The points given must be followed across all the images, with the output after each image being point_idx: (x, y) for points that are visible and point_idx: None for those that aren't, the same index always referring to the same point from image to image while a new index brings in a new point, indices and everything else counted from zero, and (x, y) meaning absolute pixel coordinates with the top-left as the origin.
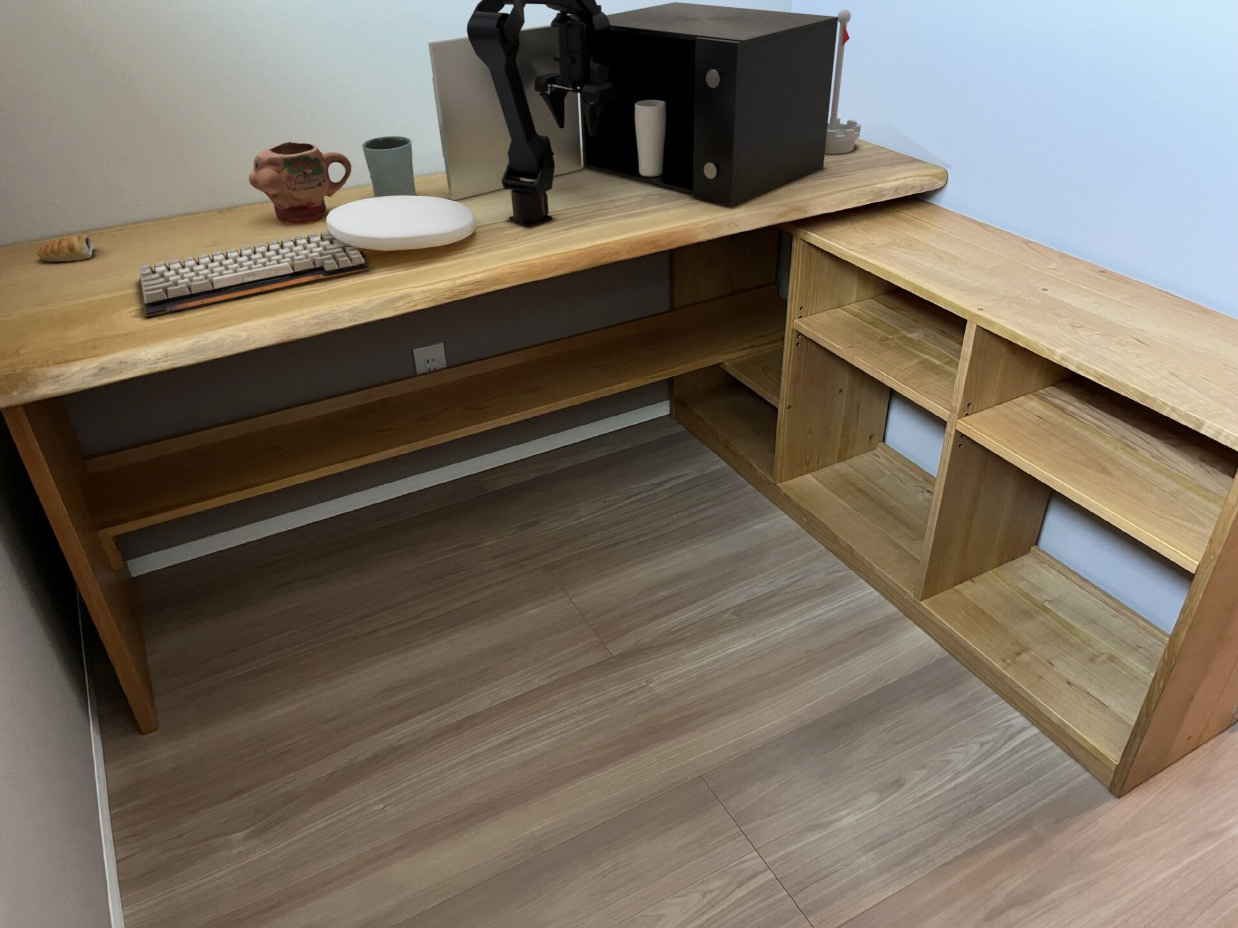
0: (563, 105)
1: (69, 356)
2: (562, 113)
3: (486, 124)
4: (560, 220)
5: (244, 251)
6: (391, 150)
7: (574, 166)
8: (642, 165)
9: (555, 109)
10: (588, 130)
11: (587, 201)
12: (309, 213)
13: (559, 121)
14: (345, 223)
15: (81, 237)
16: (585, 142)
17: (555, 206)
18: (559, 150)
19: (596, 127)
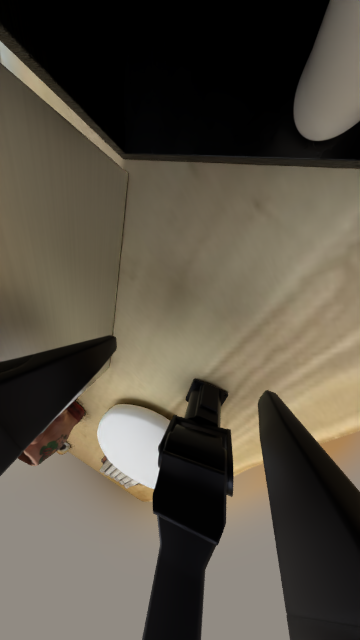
0: (16, 385)
1: (144, 498)
2: (67, 368)
3: None
4: (237, 390)
5: (114, 466)
6: (43, 430)
7: (120, 191)
8: (335, 118)
9: (47, 412)
10: (260, 426)
11: (235, 326)
12: (80, 419)
13: (98, 366)
14: (136, 480)
15: (59, 452)
16: (81, 105)
17: (204, 355)
18: (88, 222)
19: (298, 422)
